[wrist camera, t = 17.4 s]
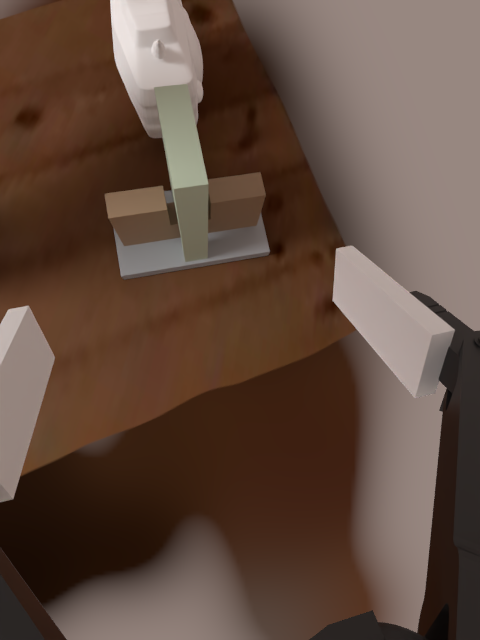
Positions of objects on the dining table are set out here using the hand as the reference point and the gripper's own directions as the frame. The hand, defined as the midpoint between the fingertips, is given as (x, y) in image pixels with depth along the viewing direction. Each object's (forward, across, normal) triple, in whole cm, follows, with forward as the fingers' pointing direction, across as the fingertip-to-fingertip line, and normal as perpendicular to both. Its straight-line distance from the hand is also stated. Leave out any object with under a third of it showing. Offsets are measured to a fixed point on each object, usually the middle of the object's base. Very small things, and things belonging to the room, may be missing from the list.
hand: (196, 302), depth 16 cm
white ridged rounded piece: (+51, +2, +4) cm, 51 cm away
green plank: (+35, +2, -9) cm, 36 cm away
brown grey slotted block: (+36, +2, -10) cm, 37 cm away
